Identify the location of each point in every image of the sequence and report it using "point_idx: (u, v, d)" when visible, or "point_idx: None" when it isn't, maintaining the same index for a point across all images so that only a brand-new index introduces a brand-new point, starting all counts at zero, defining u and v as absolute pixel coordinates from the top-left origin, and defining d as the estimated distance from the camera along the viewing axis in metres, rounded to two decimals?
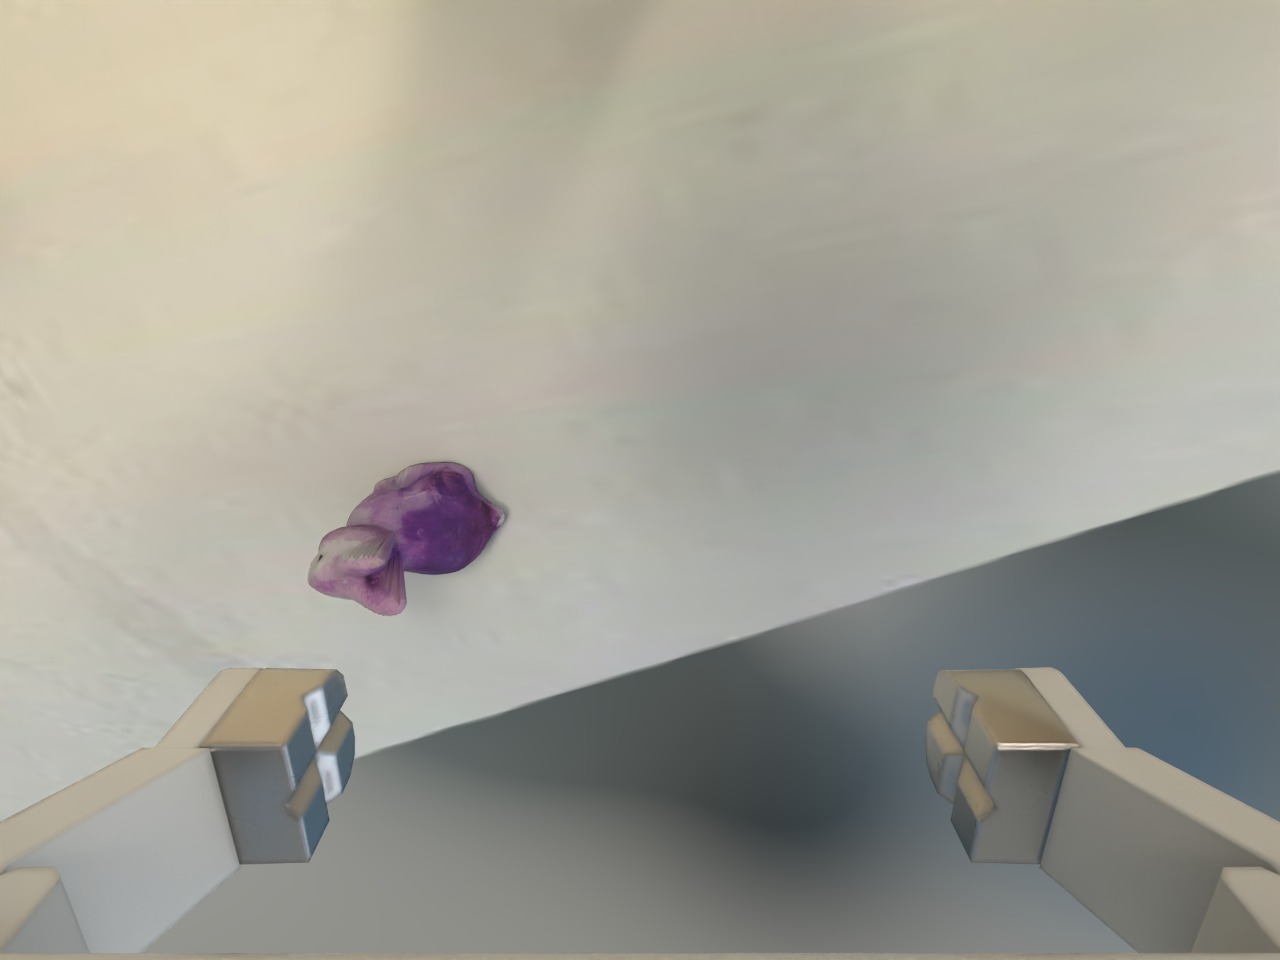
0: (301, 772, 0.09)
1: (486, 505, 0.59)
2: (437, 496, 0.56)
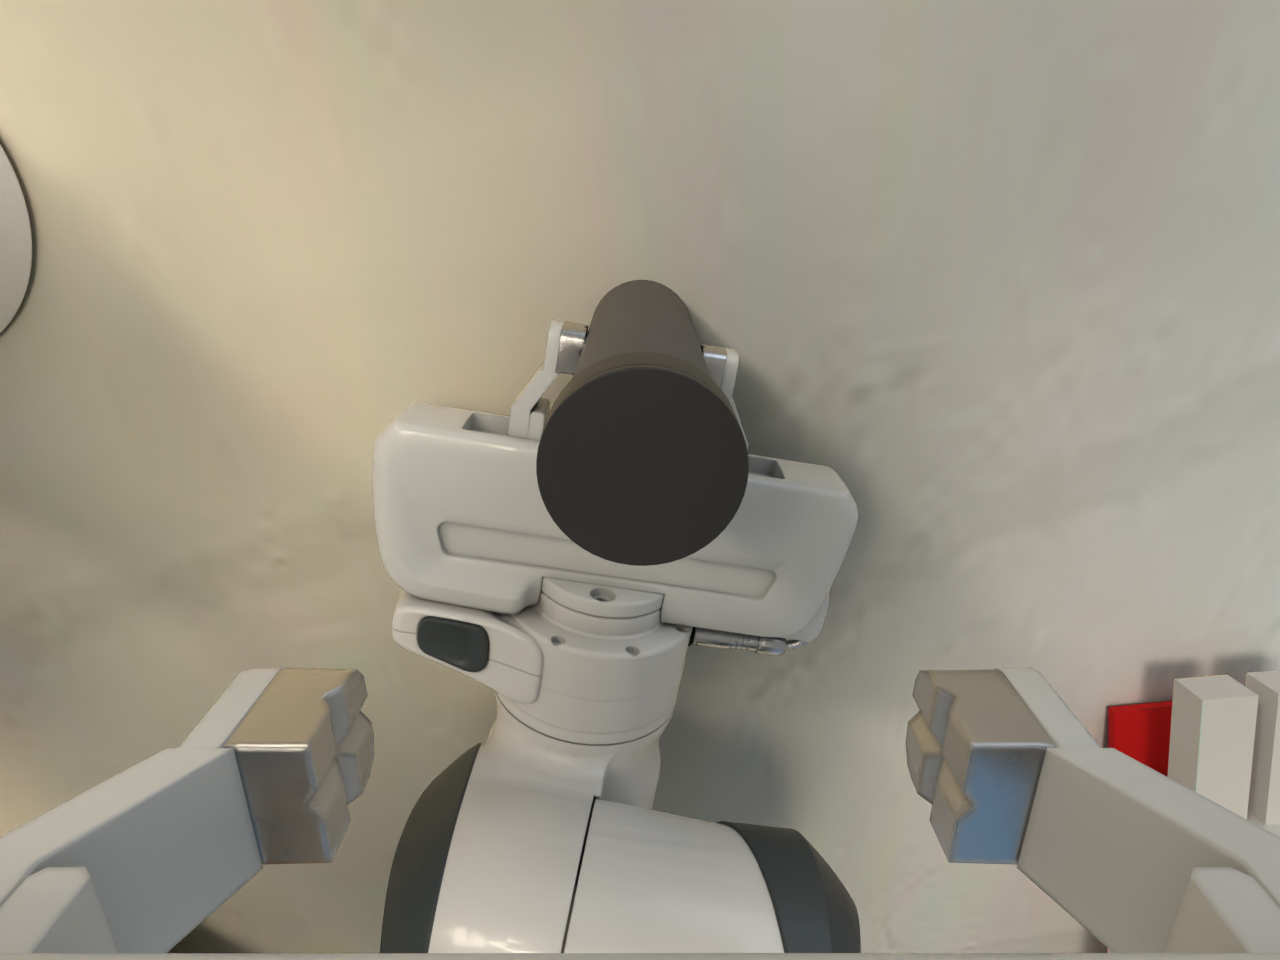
0: (324, 772, 0.09)
1: None
2: None
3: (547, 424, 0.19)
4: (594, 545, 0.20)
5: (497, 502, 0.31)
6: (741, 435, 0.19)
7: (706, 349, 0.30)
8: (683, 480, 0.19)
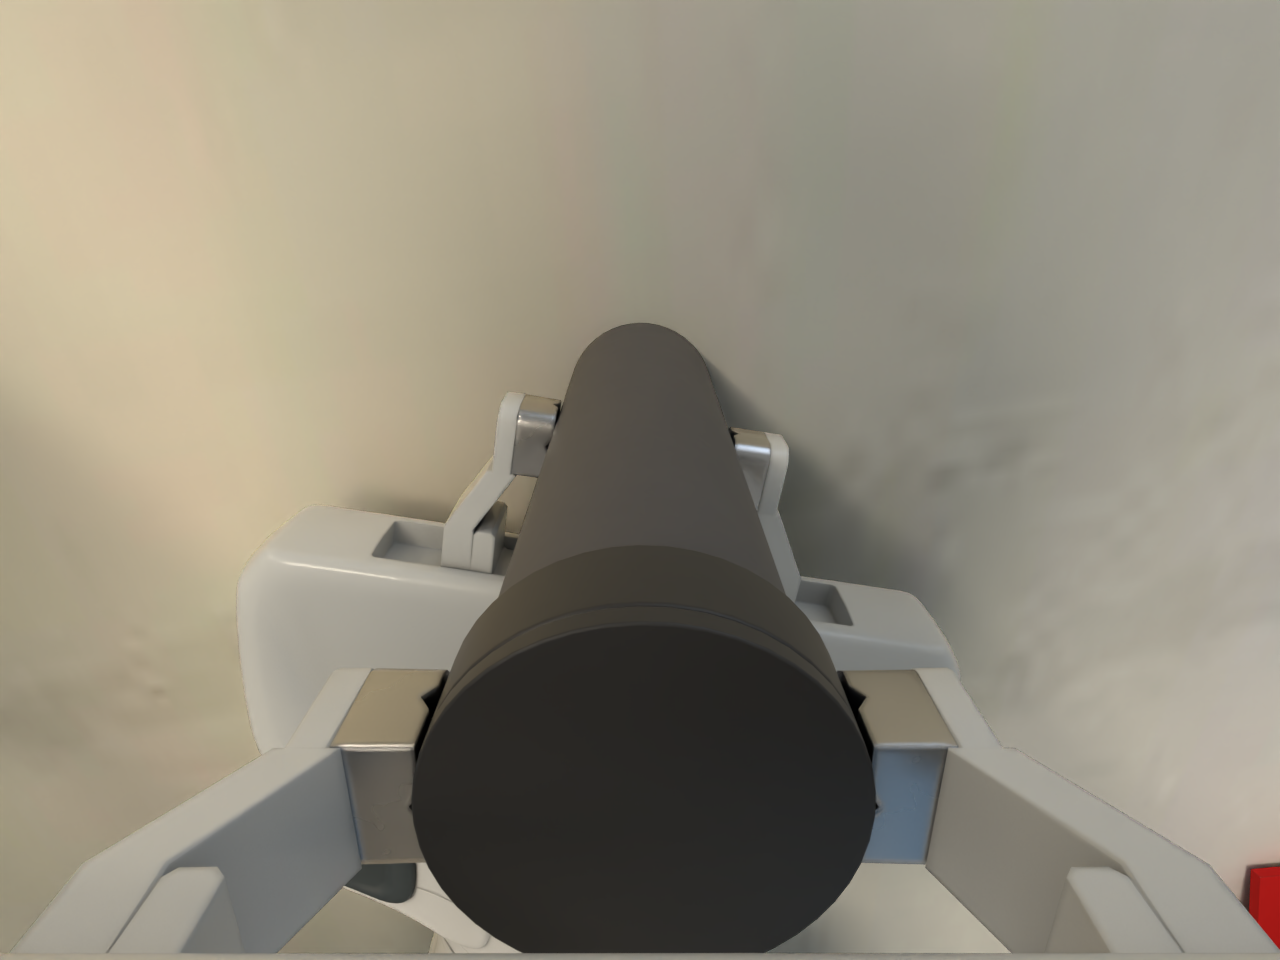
0: None
1: None
2: None
3: (430, 734, 0.08)
4: (543, 946, 0.09)
5: (425, 662, 0.21)
6: (864, 755, 0.08)
7: (739, 439, 0.20)
8: (733, 835, 0.09)
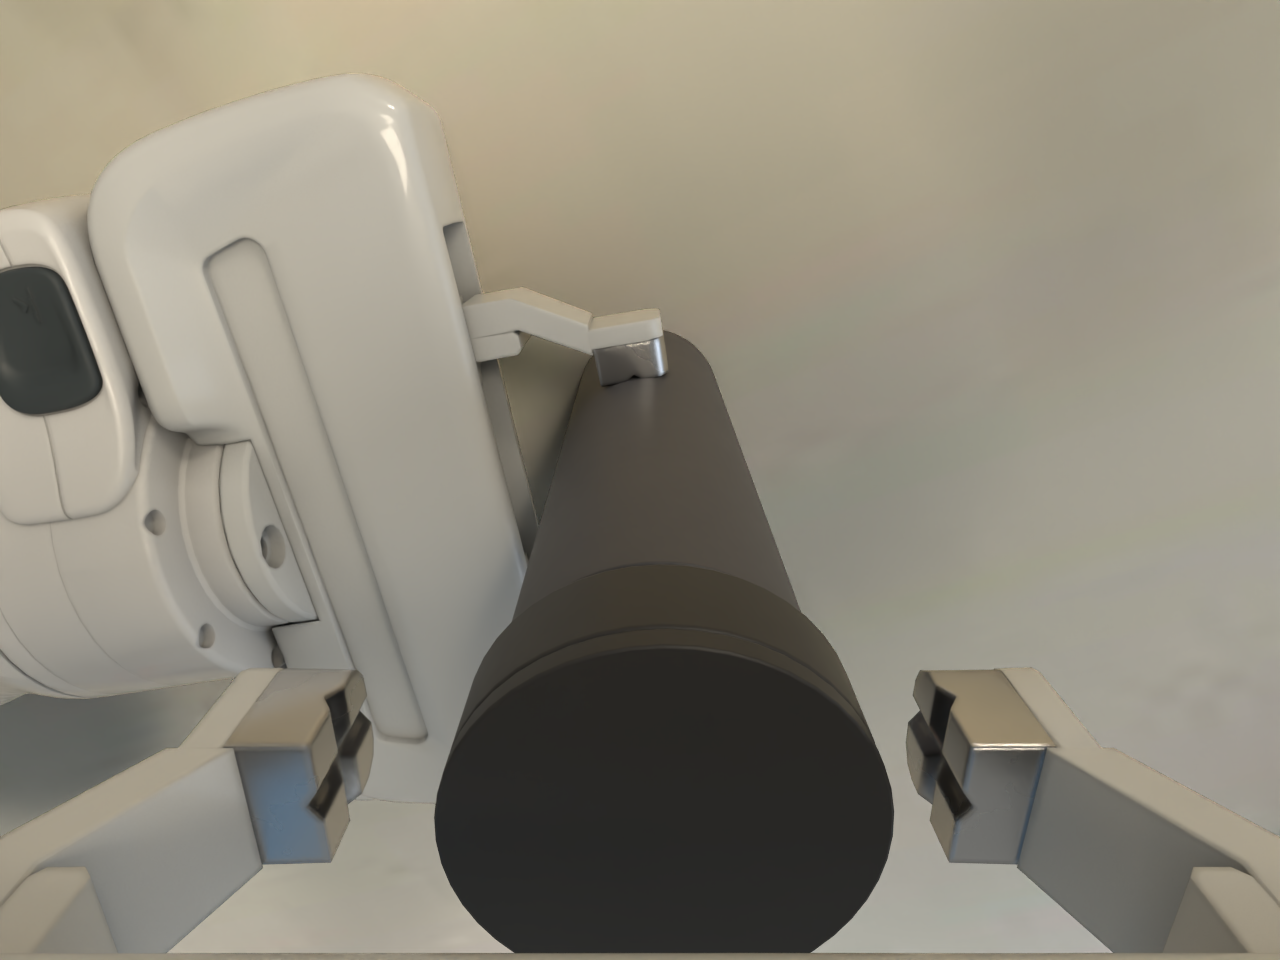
0: (324, 772, 0.09)
1: None
2: None
3: (436, 822, 0.09)
4: None
5: (344, 328, 0.18)
6: (841, 713, 0.08)
7: None
8: (754, 826, 0.09)
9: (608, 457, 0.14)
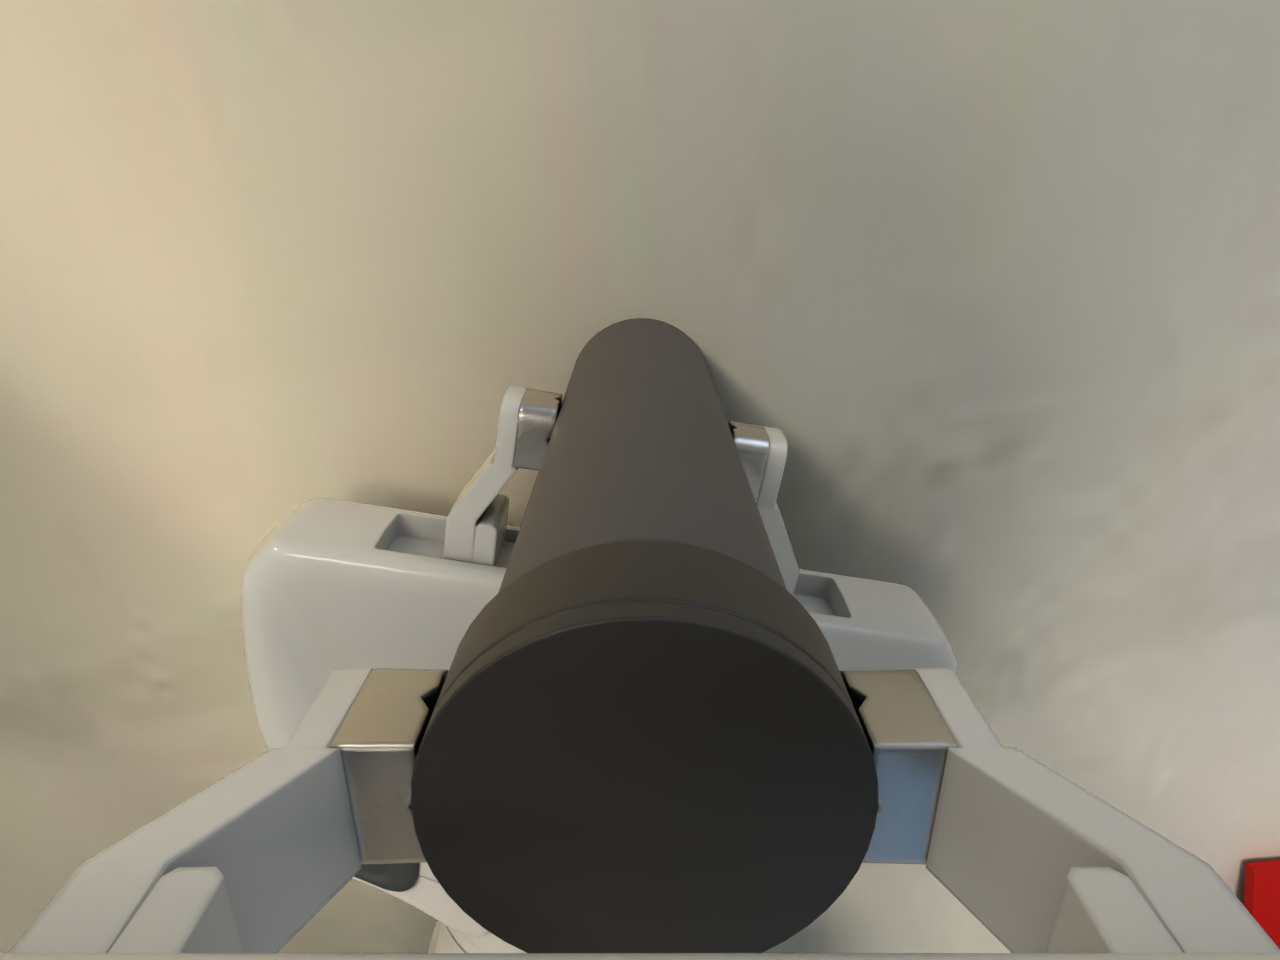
0: None
1: None
2: None
3: None
4: (821, 890, 0.09)
5: (428, 653, 0.21)
6: (536, 643, 0.08)
7: (738, 432, 0.20)
8: (658, 745, 0.08)
9: None
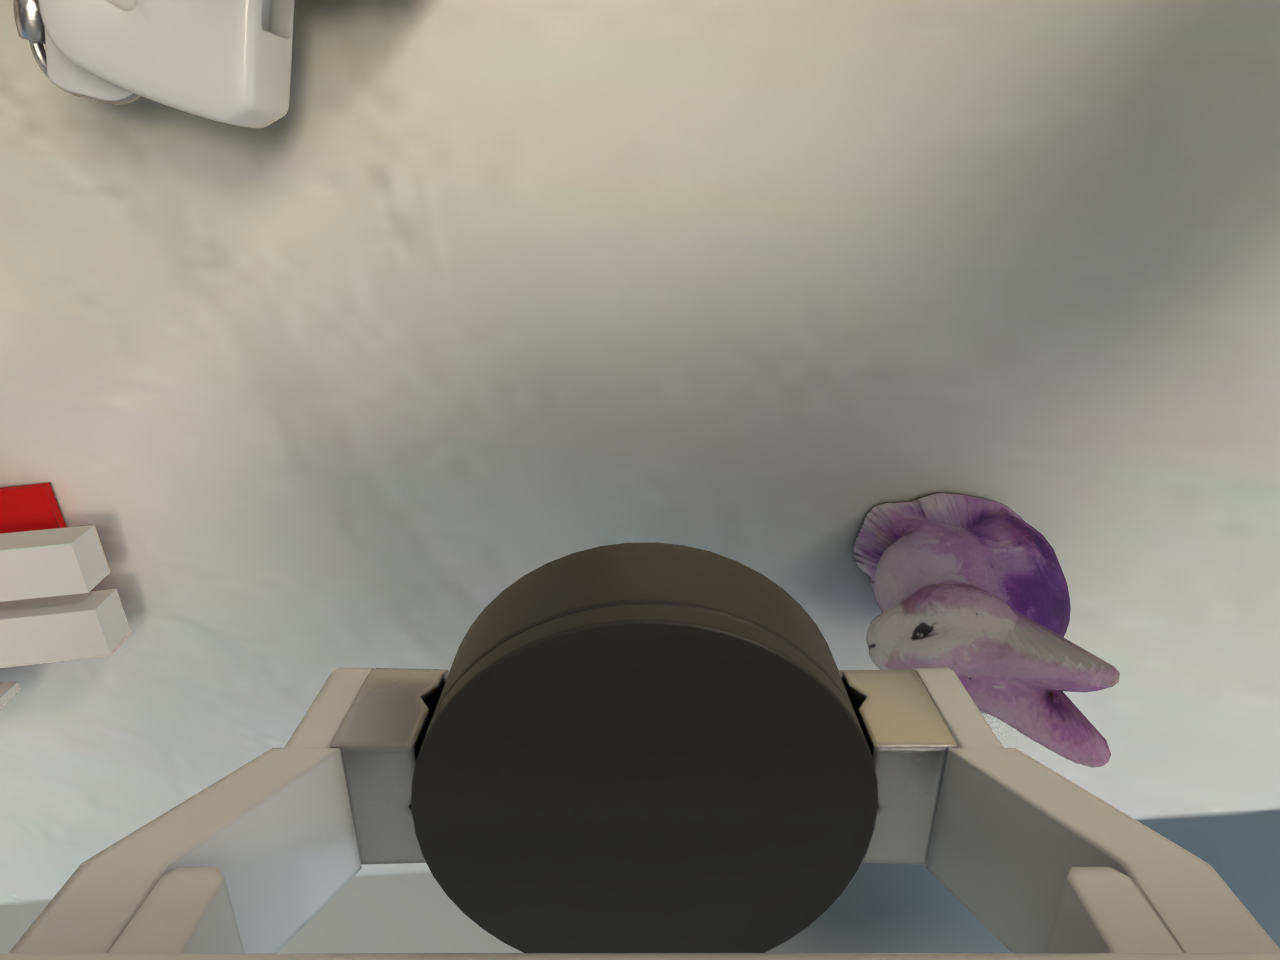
0: None
1: None
2: (1040, 559, 0.36)
3: None
4: (821, 892, 0.09)
5: None
6: (536, 646, 0.08)
7: None
8: (658, 747, 0.08)
9: None
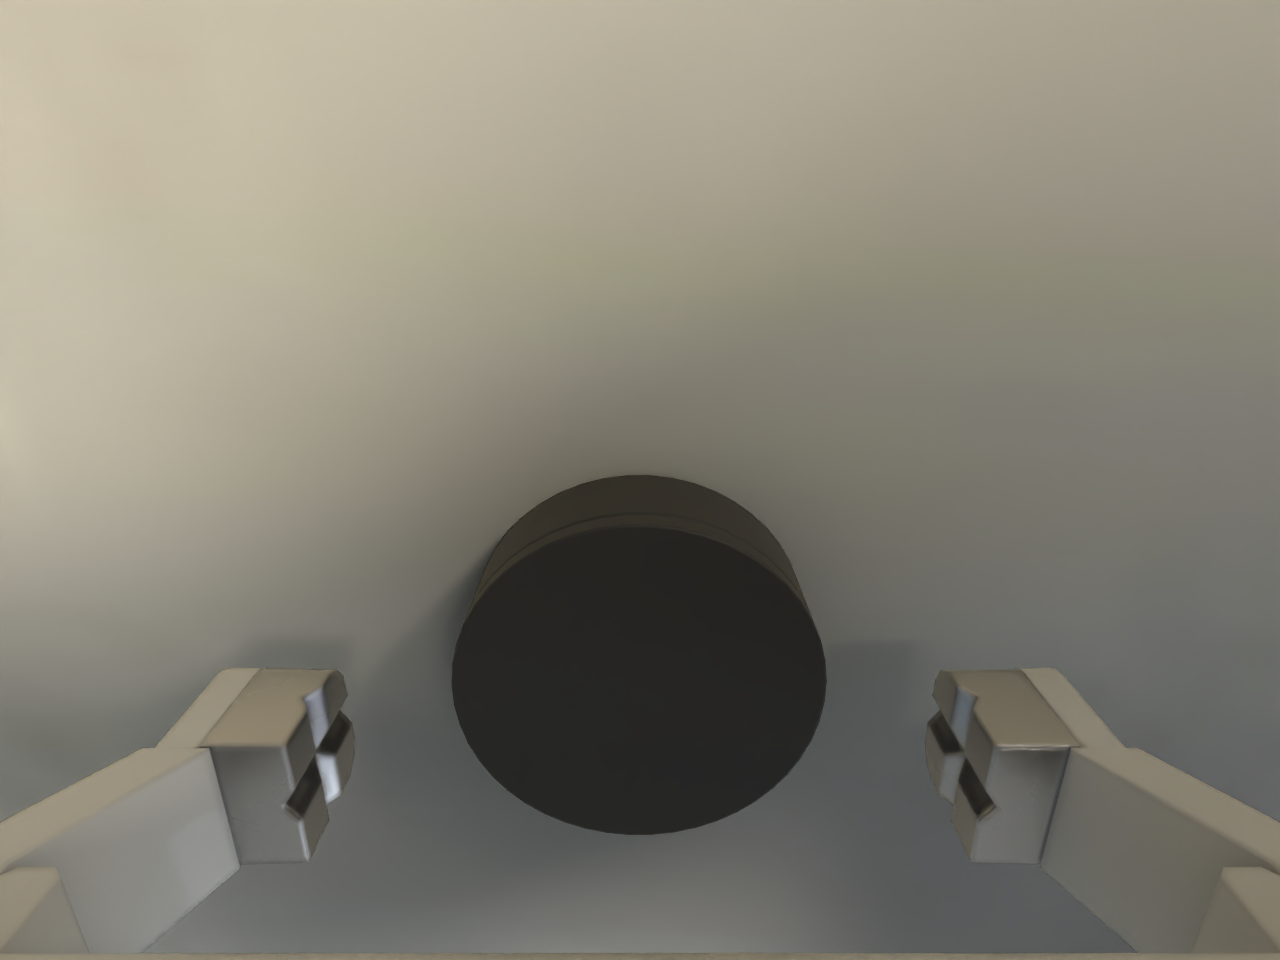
0: (301, 772, 0.09)
1: None
2: None
3: (566, 822, 0.12)
4: (782, 757, 0.11)
5: None
6: (553, 545, 0.10)
7: None
8: (649, 631, 0.10)
9: None
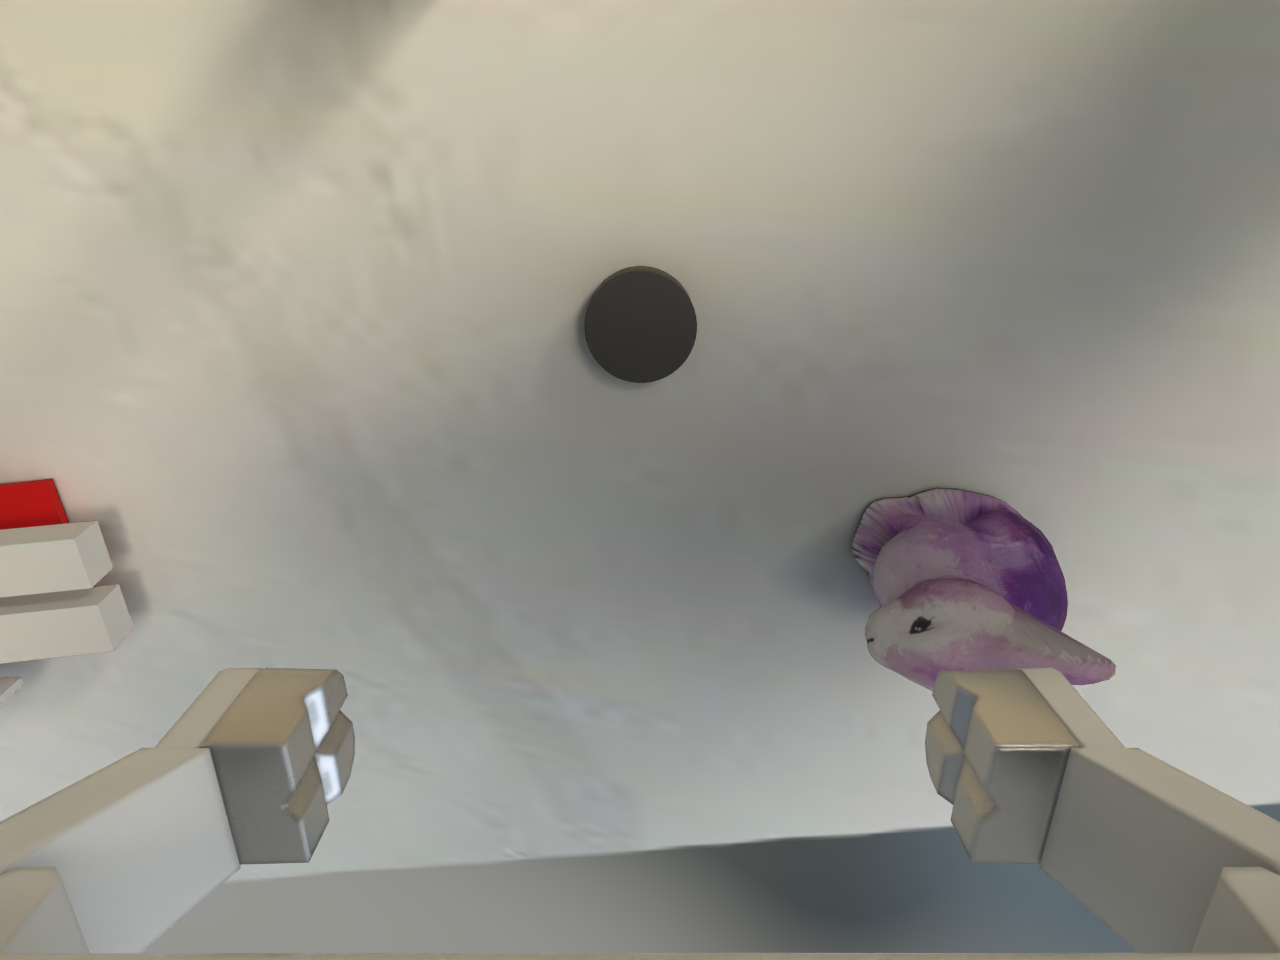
0: (301, 772, 0.09)
1: None
2: (1038, 554, 0.36)
3: (617, 377, 0.37)
4: (684, 351, 0.36)
5: None
6: (616, 277, 0.35)
7: None
8: (643, 305, 0.36)
9: None
